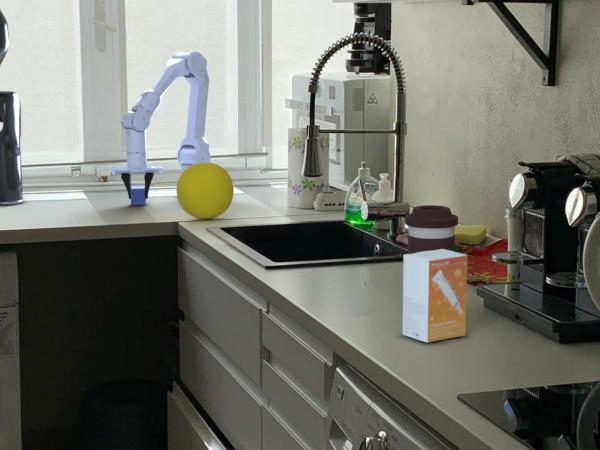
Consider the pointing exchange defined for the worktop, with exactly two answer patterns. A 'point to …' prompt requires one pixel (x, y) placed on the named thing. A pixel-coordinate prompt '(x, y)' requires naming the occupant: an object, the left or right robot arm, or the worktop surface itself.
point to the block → (138, 195)
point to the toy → (205, 190)
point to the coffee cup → (431, 228)
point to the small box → (434, 295)
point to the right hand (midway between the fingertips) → (138, 198)
